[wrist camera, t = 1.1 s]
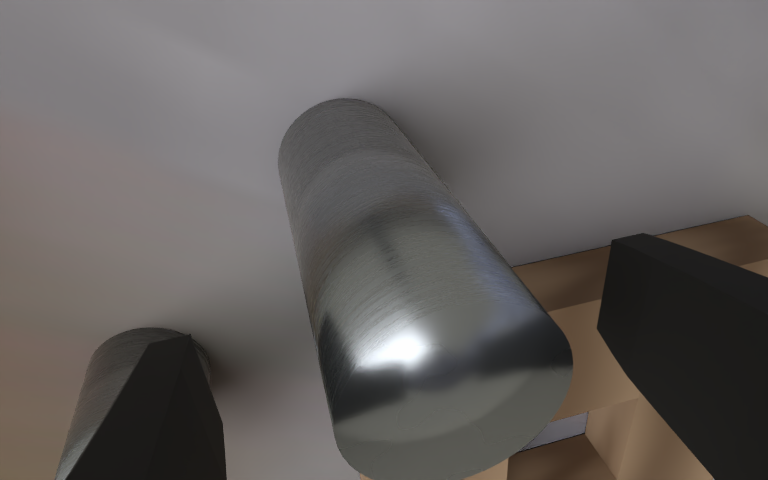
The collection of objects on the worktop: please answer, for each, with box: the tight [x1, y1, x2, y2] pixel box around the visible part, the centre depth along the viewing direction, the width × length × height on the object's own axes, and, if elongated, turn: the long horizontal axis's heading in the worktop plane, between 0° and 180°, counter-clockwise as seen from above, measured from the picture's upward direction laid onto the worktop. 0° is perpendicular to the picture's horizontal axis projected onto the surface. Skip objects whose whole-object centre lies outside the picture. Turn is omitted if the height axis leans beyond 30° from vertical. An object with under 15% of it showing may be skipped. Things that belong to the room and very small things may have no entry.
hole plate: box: [360, 215, 768, 480], centre depth 22 cm, size 16×16×2 cm
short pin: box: [54, 328, 210, 480], centre depth 15 cm, size 4×4×5 cm
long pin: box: [278, 99, 573, 480], centre depth 11 cm, size 4×4×9 cm
